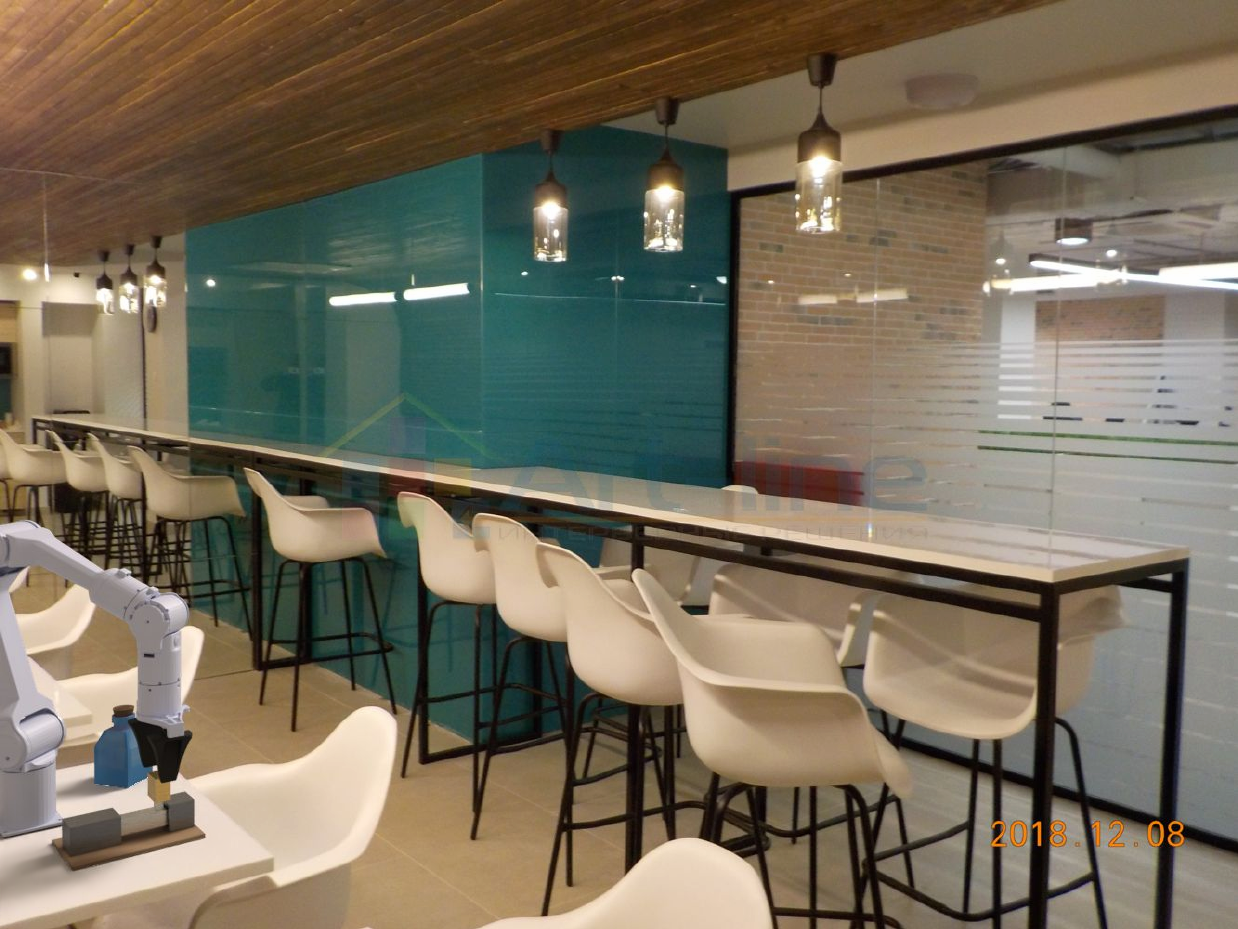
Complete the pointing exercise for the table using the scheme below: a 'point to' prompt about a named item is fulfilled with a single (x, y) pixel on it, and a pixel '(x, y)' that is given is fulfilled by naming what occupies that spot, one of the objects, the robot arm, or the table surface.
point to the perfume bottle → (119, 753)
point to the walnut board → (130, 846)
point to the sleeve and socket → (118, 826)
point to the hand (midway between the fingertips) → (159, 773)
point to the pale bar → (150, 815)
